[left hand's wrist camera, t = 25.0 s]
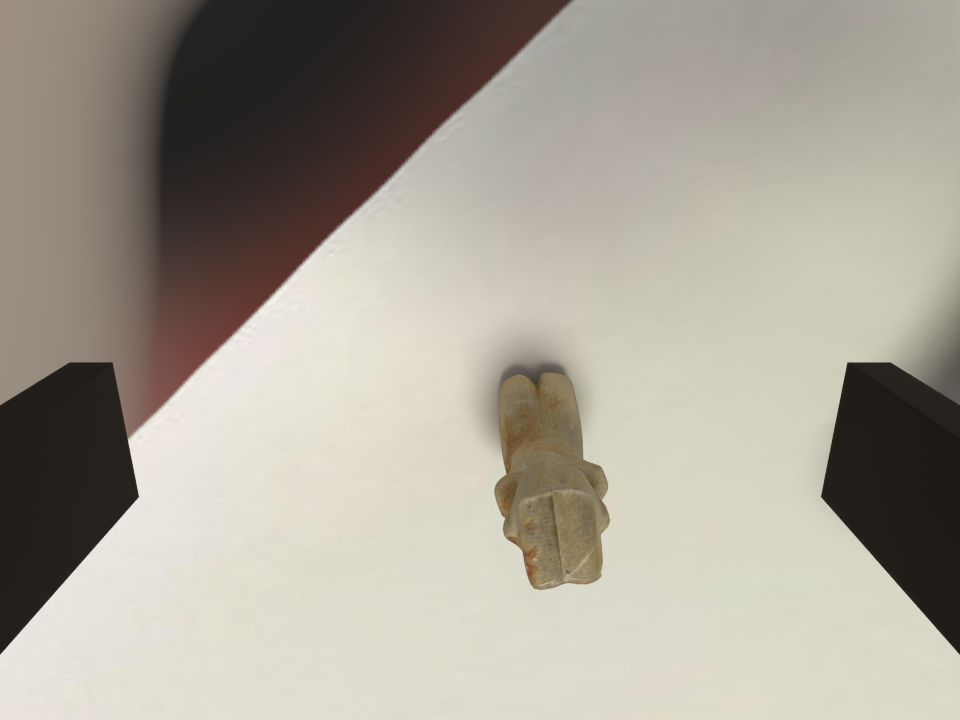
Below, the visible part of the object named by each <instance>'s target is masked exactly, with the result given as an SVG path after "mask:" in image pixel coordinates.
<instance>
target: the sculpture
mask: <svg viewBox="0 0 960 720" xmlns="http://www.w3.org/2000/svg"><path fill="white" fill-rule="evenodd" d="M499 424H500V437H501V446H502V453H503V460H504V465H505V469H506V473H507V475H505V476H504V477H502V478H501V479H500V480H499V481H498V482H497V484H496V486H495V490H494V492H495V498H496V501H497V504H498V507H499V509H500V511H501V514H502V516H503V517H505V521H504V526H503V532H504V535H505V537H506V538H507V539H508V540H509V541H511V542H513V543H514V544H516V545H517V546H518V547H519V548H520V549H521V550H522V551H523V556H524V563H525V568H526V572H527V576H528V578H529V581H530V584H531V585H532V586H533V588H534V589H539V590H544V589H550V588H554V587H557V586H559V585H561V584H565V583H574V584H589V583H593V582H595V581H597V580H598V579H599V578H600V577H601V570H602V563H603V558H602V544H601V533H602V532H603V531H604V530H605V529H606V528H607V527H608V525H609V522H610V519H609V514H608V511H607V509H606V506H605V505H604V503H603V502H602V499H603V497H604V496H605V494H606V492H607V490H608V483H607V479H606V477H605V474H604V472H603V470H602V468H601V467H600V466H599V465H596V464H593V463H590V462H587V461H585V460H583V441H582V431H581V423H580V417H579V412H578V407H577V401H576V397H575V393H574V389H573V386H572V383H571V380H570V379H569V378H568V377H567V376H565V375H563V374H557V373H550V372H546V373H542V374H541V375H540V378H539V381H538V383H536V384H535V383H533V382H532V381H531V380H530V379H529V378H527V377H526V376H524V375H519V374H518V375H514V376H512V377H510V378H508V379H506V380H505V381H504V382H503V384H502V386H501V388H500V393H499Z"/></svg>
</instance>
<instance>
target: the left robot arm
mask: <svg viewBox="0 0 960 720" xmlns="http://www.w3.org/2000/svg"><path fill="white" fill-rule="evenodd" d="M138 497H139V495H138V490H137V484H136V479H135V474H134V469H133V464H132V459H131V454H130V449H129V444H128V439H127V434H126V429H125V424H124V418H123V413H122V408H121V403H120V398H119V393H118V388H117V383H116V378H115V373H114V368H113V363H68V364H67V365H65V366H63V367H62V368H60V369H58V370H57V371H55V372H53V373H52V374H50V375H49V376H47V377H45V378H44V379H42V380H41V381H39V382H37V383H36V384H34V385H33V386H31V387H29V388H28V389H26V390H24V391H23V392H21V393H19V394H18V395H16V396H15V397H13V398H11V399H10V400H8V401H7V402H5V403H3V404H2V405H0V654H1V653H2V652H3V651H4V650H5V649H6V647H7V646H8V645H9V644H10V643H11V642H12V641H13V639H14V638H15V637H16V636H17V635H18V634H19V633H20V632H21V630H22V629H23V628H24V627H25V626H26V625H27V624H28V622H29V621H30V620H31V619H32V618H33V617H34V616H35V614H36V613H37V612H38V611H39V610H40V609H41V608H42V607H43V605H44V604H45V603H46V602H47V601H48V600H49V599H50V597H51V596H52V595H53V594H54V593H55V592H56V591H57V589H58V588H59V587H60V586H61V585H62V584H63V583H64V582H65V580H66V579H67V578H68V577H69V576H70V575H71V574H72V572H73V571H74V570H75V569H76V568H77V567H78V566H79V564H80V563H81V562H82V561H83V560H84V559H85V558H86V557H87V555H88V554H89V553H90V552H91V551H92V550H93V549H94V547H95V546H96V545H97V544H98V543H99V542H100V541H101V539H102V538H103V537H104V536H105V535H106V534H107V533H108V532H109V530H110V529H111V528H112V527H113V526H114V525H115V524H116V522H117V521H118V520H119V519H120V518H121V517H122V516H123V514H124V513H125V512H126V511H127V510H128V509H129V508H130V506H131V505H132V504H133V503H134V502H135V501H136V500H137V499H138ZM821 497H822V499H823V500H824V501H825V502H826V503H827V504H828V505H829V506H830V508H831V509H832V510H833V511H834V512H835V513H836V514H837V516H838V517H839V518H840V519H841V520H842V521H843V522H844V524H845V525H846V526H847V527H848V528H849V529H850V530H851V532H852V533H853V534H854V535H855V536H856V537H857V538H858V539H859V541H860V542H861V543H862V544H863V545H864V546H865V547H866V549H867V550H868V551H869V552H870V553H871V554H872V555H873V557H874V558H875V559H876V560H877V561H878V562H879V563H880V564H881V566H882V567H883V568H884V569H885V570H886V571H887V572H888V574H889V575H890V576H891V577H892V578H893V579H894V580H895V582H896V583H897V584H898V585H899V586H900V587H901V588H902V589H903V591H904V592H905V593H906V594H907V595H908V596H909V597H910V599H911V600H912V601H913V602H914V603H915V604H916V605H917V607H918V608H919V609H920V610H921V611H922V612H923V613H924V614H925V616H926V617H927V618H928V619H929V620H930V621H931V622H932V624H933V625H934V626H935V627H936V628H937V629H938V630H939V632H940V633H941V634H942V635H943V636H944V637H945V638H946V640H947V641H948V642H949V643H950V644H951V645H952V646H953V647H954V649H955V650H956V651H957V652H958V653H959V654H960V405H958V404H957V403H955V402H954V401H952V400H950V399H949V398H947V397H945V396H944V395H942V394H941V393H939V392H937V391H936V390H934V389H932V388H931V387H929V386H928V385H926V384H924V383H923V382H921V381H919V380H918V379H916V378H915V377H913V376H911V375H910V374H908V373H907V372H905V371H903V370H902V369H900V368H898V367H897V366H895V365H894V364H892V363H847V368H846V373H845V378H844V383H843V388H842V393H841V398H840V403H839V408H838V413H837V418H836V424H835V429H834V434H833V439H832V444H831V449H830V454H829V459H828V464H827V469H826V474H825V479H824V484H823V490H822V495H821Z"/></svg>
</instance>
